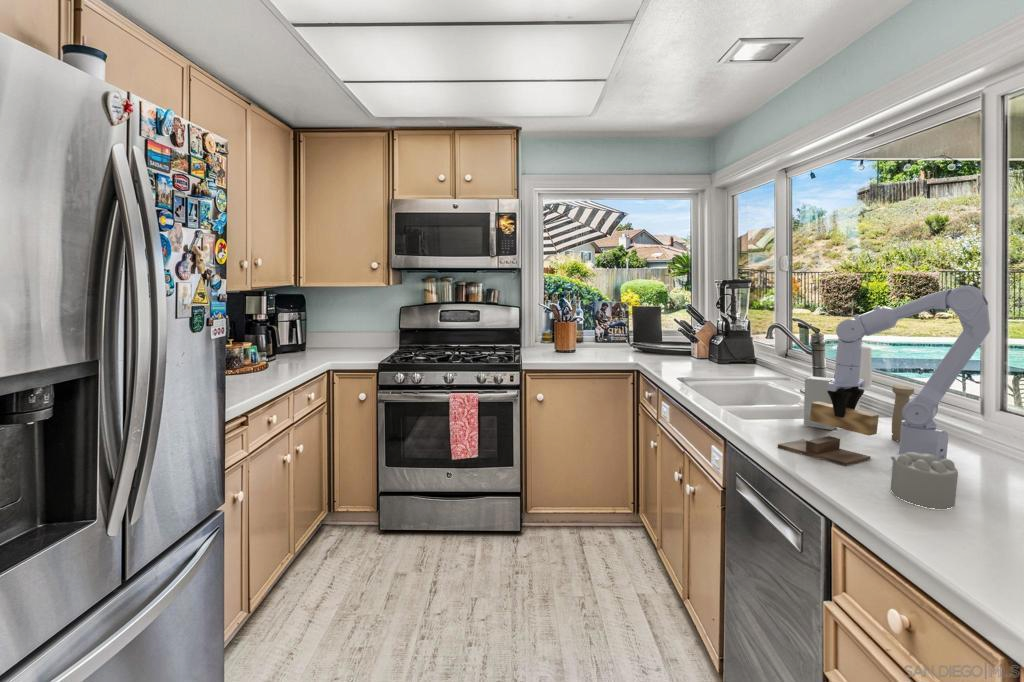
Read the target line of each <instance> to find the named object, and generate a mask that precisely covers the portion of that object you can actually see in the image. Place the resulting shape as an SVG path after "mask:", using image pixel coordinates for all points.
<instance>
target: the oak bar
mask: <svg viewBox="0 0 1024 682" xmlns="http://www.w3.org/2000/svg"><path fill="white" fill-rule="evenodd" d="M879 416H880V415H879V414H876V413H872V412H867V411H863V410H860V409H859V410H855V409H850V408H846V412H845V415H844V417H843V418H842V417H837V416H835V414H834V409H833V404H828V403H824V402H820V401H819V402H812V405H811V414H810V421H814V422H818V423H822V424H826V425H830V426H834V427H837V428H838V429H842V430H846V431H850V432H853V433H858V434H861V435H865V436H868V437H870V436H874V435H877V434H878V433H877V432H878V423H879ZM837 428H836V429H837Z"/></svg>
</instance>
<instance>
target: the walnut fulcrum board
mask: <svg viewBox="0 0 1024 682" xmlns="http://www.w3.org/2000/svg"><path fill="white" fill-rule="evenodd" d="M840 445H841V438H839V437H834V436H831V435H828V436H822V437H818V438H814V439H813V438H812V439H809V440H807V439H804V438H801V439H800V438H799V439H796V440H791V441H787V442H782V443H777V448H779V449H782V448H783V449H782V450H786V451H789V450H790V452H793V451H794V453H797V454H800V453H801V454H800V455H805V456H808V457H810V458H811V457H812V458H815V459H819V460H822V461H825V462H830V463H832V464H833V463H834V464H838V465H841V466H844V467H847V466H851V465H854V464H855V465H856V464H859V463H862V461H863V462H865V460H866V461H869V460H868V459H870V460H871V456H870V455H866V454H863V453H859V452H855V451H851V450H847V449H844V448H840Z"/></svg>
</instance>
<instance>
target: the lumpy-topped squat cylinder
mask: <svg viewBox="0 0 1024 682" xmlns="http://www.w3.org/2000/svg"><path fill="white" fill-rule="evenodd" d="M894 455H895V456H894V457H893V458H892V469H891V479H890V480H891V481H890V491H891V490H892V492H893V493H894V494H895V495H896V496H897V497H899V498H900V499H903V500H905V501H907V502H910V503H913V504H916V505H920V506H923V507H927V508H935V509H947V508H951V507H953V506H954V505H955V506H956V496H957V487H958V478H959V477H958V476H959V470H958V469H957V468H956V466H955V463H954V461H953V460H951V459H948V458H946V459H943V460H940V459H938V458H937V457H936V456H935V455H932V454H921V453H915V452H907V453H904V454H903V455H897V454H894ZM892 492H891V493H892ZM893 493H892V494H893ZM900 499H899V500H900ZM955 506H954V507H955ZM954 507H953V508H954ZM951 509H952V508H951Z"/></svg>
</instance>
